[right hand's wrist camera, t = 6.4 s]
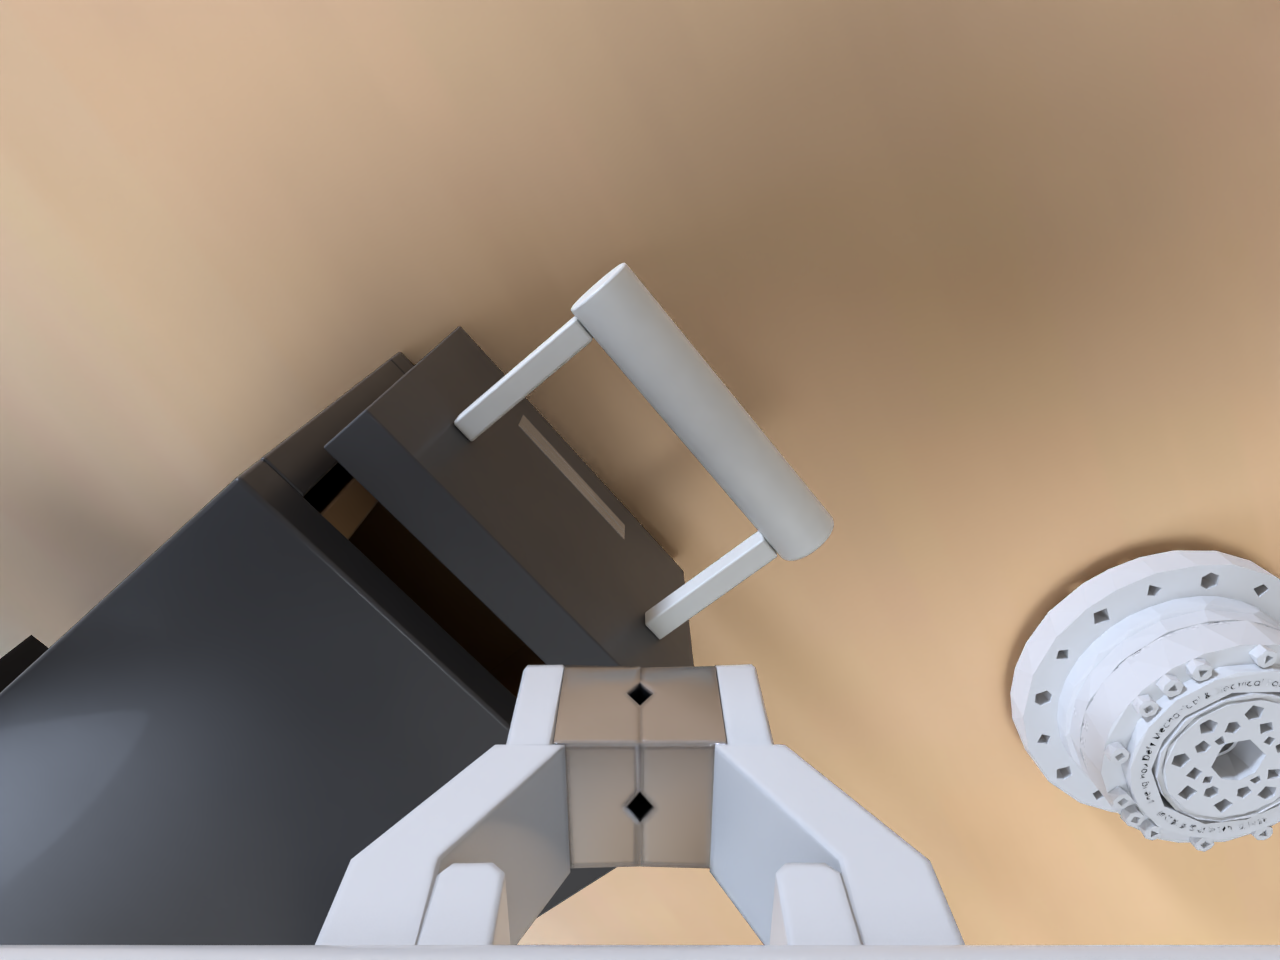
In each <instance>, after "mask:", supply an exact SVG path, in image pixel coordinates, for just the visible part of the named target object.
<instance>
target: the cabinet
mask: <svg viewBox="0 0 1280 960" xmlns="http://www.w3.org/2000/svg"><path fill="white" fill-rule="evenodd" d="M412 367H414V365H413V364H412V363H411V362H410V361H409V360H408V359H407V358H406V357H405V356H404V355H403V354H402V353H401V352H398V353H397V354H396V355H394V356H393V357H392V358H390V359H389V360H388V361H387V362H385V363H384V364H383V365H381V366H380V367H379V368H378V369H376V370H375V371H374V372H372V373H371V374H370V375H368V376H367V377H366V378H365V379H363V380H362V381H361V382H359V383H358V384H357V385H355V386H354V387H353V388H352V389H350V390H349V391H348V392H346V393H345V394H344V395H343V396H341V397H340V398H339V399H337V400H336V401H335V402H333V403H332V404H331V405H330V406H328V407H327V408H326V409H324V410H323V411H322V412H320V413H319V414H318V415H317V416H315V417H314V418H313V419H311V420H310V421H309V422H307V423H306V424H305V425H304V426H302V427H301V428H300V429H298V430H297V431H296V432H294V433H293V434H292V435H291V436H289V437H288V438H287V439H285V440H284V441H283V442H282V443H280V444H279V445H278V446H276V447H275V448H274V449H272V450H271V451H270V452H269V453H267V454H266V455H265V456H263V457H262V458H261V459H260V460H259V461H257V462H256V463H254V464H253V465H252V466H251V467H249V468H248V469H247V470H245V471H244V472H243V473H241V474H240V475H239V476H238V477H236V478H235V479H234V480H233V481H232V482H231V483H230V484H229V485H227V486H226V487H225V488H224V489H223V490H222V491H221V492H220V493H219V494H218V495H217V496H215V497H214V498H213V499H212V500H211V501H210V502H209V503H208V504H207V505H206V506H204V507H203V508H202V509H201V510H200V511H199V512H198V513H197V514H196V515H195V516H194V517H192V518H191V519H190V520H189V521H188V522H187V523H186V524H185V525H184V526H183V527H181V528H180V529H179V530H178V531H177V532H176V533H175V534H174V535H173V536H172V537H170V538H169V539H168V540H167V541H166V542H165V543H164V544H163V545H162V546H161V547H160V548H158V549H157V550H156V551H155V552H154V553H153V554H152V555H151V556H150V557H149V558H147V559H146V560H145V561H144V562H143V563H142V564H141V565H140V566H139V567H138V568H137V569H135V570H134V571H133V572H132V573H131V574H130V575H129V576H128V577H127V578H126V579H124V580H123V581H122V582H121V583H120V584H119V585H118V586H117V587H116V588H115V589H113V590H112V591H111V592H110V593H109V594H108V595H107V596H106V597H105V598H104V599H103V600H101V601H100V602H99V603H98V604H97V605H96V606H95V607H94V608H93V609H92V610H90V611H89V612H88V613H87V614H86V615H85V616H84V617H83V618H82V619H81V620H80V621H78V622H77V623H76V624H75V625H74V626H73V627H72V628H71V629H70V630H69V631H67V632H66V633H65V634H64V635H63V636H62V637H61V638H60V639H59V640H58V641H56V642H55V643H54V644H53V645H52V646H51V647H50V648H49V649H48V650H47V651H46V652H44V653H43V654H42V655H41V656H40V657H39V658H38V659H37V660H36V661H35V662H33V663H32V664H31V665H30V666H29V667H28V668H27V669H26V670H25V671H24V672H23V673H21V674H20V675H19V676H18V677H17V678H16V679H15V680H14V681H13V682H12V683H10V684H9V685H8V686H7V687H6V688H5V689H4V690H3V691H2V692H1V693H0V945H315V943H316V941H317V938H318V936H319V934H320V931H321V929H322V927H323V924H324V922H325V920H326V917H327V915H328V913H329V910H330V908H331V905H332V903H333V901H334V898H335V896H336V894H337V891H338V889H339V887H340V884H341V882H342V879H343V877H344V875H345V872H346V870H347V868H348V865H349V863H350V861H351V859H352V858H353V857H355V856H356V855H357V854H358V853H360V852H361V851H362V850H364V849H365V848H366V847H367V846H369V845H370V844H371V843H372V842H374V841H375V840H376V839H377V838H379V837H380V836H381V835H382V834H384V833H385V832H386V831H387V830H389V829H390V828H391V827H392V826H394V825H395V824H396V823H397V822H399V821H400V820H401V819H402V818H404V817H405V816H406V815H407V814H409V813H410V812H411V811H412V810H414V809H415V808H416V807H417V806H419V805H420V804H421V803H422V802H424V801H425V800H426V799H428V798H429V797H430V796H431V795H433V794H434V793H435V792H436V791H438V790H439V789H440V788H441V787H443V786H444V785H445V784H446V783H448V782H449V781H450V780H451V779H453V778H454V777H455V776H456V775H458V774H459V773H460V772H461V771H463V770H464V769H465V768H466V767H468V766H469V765H470V764H471V763H473V762H474V761H475V760H476V759H478V758H479V757H480V756H481V755H483V754H484V753H485V752H486V751H488V750H489V749H490V748H491V747H493V746H494V745H506V743H507V739H508V734H509V730H510V726H511V722H512V717H513V713H514V709H515V705H516V700H517V698H516V697H515V696H514V695H513V694H512V693H511V692H510V691H509V690H508V689H507V688H505V687H504V686H503V685H502V684H501V683H500V682H499V681H498V680H497V679H496V678H495V677H494V676H493V675H492V674H491V673H490V672H488V671H487V670H486V669H485V668H484V667H483V666H482V665H481V664H480V663H479V662H478V661H477V660H476V659H475V658H474V657H472V656H471V655H470V654H469V653H468V652H467V651H466V650H465V649H464V648H463V647H462V646H461V645H460V644H459V643H458V642H457V641H455V640H454V639H453V638H452V637H451V636H450V635H449V634H448V633H447V632H446V631H445V630H444V629H443V628H442V627H441V626H439V625H438V624H437V623H436V622H435V621H434V620H433V619H432V618H431V617H430V616H429V615H428V614H427V613H426V612H425V611H424V610H422V609H421V608H420V607H419V606H418V605H417V604H416V603H415V602H414V601H413V600H412V599H411V598H410V597H409V596H408V595H406V594H405V593H404V592H403V591H402V590H401V589H400V588H399V587H398V586H397V585H396V584H395V583H394V582H393V581H392V580H390V579H389V578H388V577H387V576H386V575H385V574H384V573H383V572H382V571H381V570H380V569H379V568H378V567H377V566H376V565H375V564H373V563H372V562H371V561H370V560H369V559H368V558H367V557H366V556H365V555H364V554H363V553H362V552H361V551H360V550H359V549H357V548H356V547H355V546H354V545H353V544H352V543H351V542H350V541H349V540H348V539H347V538H346V537H345V536H344V535H343V534H342V533H340V532H339V531H338V530H337V529H336V528H335V527H334V526H333V525H332V524H331V523H330V522H329V521H328V520H327V519H326V518H324V517H323V516H322V515H321V514H320V513H319V512H318V511H317V510H316V509H315V508H314V507H313V506H312V505H311V504H310V503H311V502H312V501H313V500H314V499H315V498H316V497H317V496H319V495H320V494H321V493H322V492H323V491H324V490H325V489H327V488H328V487H329V486H330V485H331V484H332V483H334V482H335V481H336V480H337V479H338V478H339V477H340V476H342V475H343V474H344V473H345V472H346V471H347V470H346V469H345V468H344V467H343V466H341V465H340V464H339V463H338V462H337V461H336V460H335V459H334V458H333V457H332V456H331V455H330V454H329V453H328V452H327V451H326V450H325V449H324V446H325V445H326V444H327V443H328V442H329V441H330V440H331V439H332V438H334V437H335V436H336V435H337V434H338V433H339V432H340V431H341V430H343V429H344V428H345V427H346V426H347V425H348V424H349V423H350V422H352V421H353V420H354V419H355V418H356V417H357V416H358V415H359V414H361V413H362V412H363V411H364V410H365V409H366V408H367V407H368V406H370V405H371V404H372V403H373V402H374V401H375V400H376V399H377V398H379V397H380V396H381V395H382V394H383V393H384V392H385V391H386V390H388V389H389V388H390V387H391V386H392V385H393V384H394V383H396V382H397V381H398V380H399V379H400V378H401V377H402V376H403V375H405V374H406V373H407V372H408V371H409V370H410V369H411V368H412ZM615 868H616V867H598V868H570V874H569V875H568V876H567V878H566V879H565V880H564V882H563V883H562V884H561V886H560V887H559V888H558V890H557V891H556V892H555V894H554V895H553V896H552V898H551V899H550V900H549V902H548V903H547V904H546V906H545V907H544V908H543V910H542V911H541V912H540V914H539V915H538V917H539V916H541V915H542V914H544V913H545V912H547V911H548V910H550V909H552V908H553V907H555V906H556V905H558V904H560V903H561V902H563V901H564V900H566V899H567V898H569V897H571V896H572V895H574V894H575V893H577V892H578V891H580V890H582V889H583V888H585V887H586V886H588V885H589V884H591V883H593V882H594V881H596V880H597V879H599V878H601V877H602V876H604V875H605V874H607V873H608V872H610V871H612V870H613V869H615Z"/></svg>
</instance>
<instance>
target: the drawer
mask: <svg viewBox="0 0 1280 960" xmlns="http://www.w3.org/2000/svg"><path fill="white" fill-rule="evenodd" d="M571 312H572V313H573V314H574V315H575V316H574V317H573V318H572V319H570V320H569V321H568V322H567V323H566V324H565V325H563V326H562V327H561V328H560V329H559V330H558V331H556V332H555V333H554V334H553V335H552V336H551V337H549V338H548V339H547V340H546V341H545V342H544V343H542V344H541V345H540V346H539V347H538V348H537V349H535V350H534V351H533V352H532V353H531V354H530V355H528V356H527V357H526V358H525V359H524V360H523V361H521V362H520V363H519V364H518V365H517V366H516V367H514V368H513V369H512V370H511V371H510V372H509V373H507V374H506V375H504V374H503V373H502V372H501V370H500V369H499V368H498V367H497V366H496V365H495V364H494V363H493V362H492V361H491V359H490V358H489V357H488V356H487V355H486V354H485V353H484V352H483V351H482V350H481V348H480V347H479V346H478V345H477V344H476V343H475V342H474V341H473V340H472V339H471V337H470V336H469V335H468V334H467V333H466V332H465V331H464V330H463V329H462V328H461V327H460V326H459V327H458V328H457V329H455V330H454V331H453V332H452V333H451V334H450V335H449V336H447V337H446V338H445V339H444V340H443V341H442V342H441V343H440V344H438V345H437V346H436V347H435V348H434V349H433V350H432V351H431V352H429V353H428V354H427V355H426V356H425V357H424V358H423V359H421V360H420V361H419V362H418V363H417V364H416V365H415V366H414V367H412V368H411V369H410V370H409V371H408V372H407V373H406V374H405V375H403V376H402V377H401V378H400V379H399V380H398V381H397V382H396V383H394V384H393V385H392V386H391V387H390V388H389V389H388V390H386V391H385V392H384V393H383V394H382V395H381V396H380V397H379V398H377V399H376V400H375V401H374V402H373V403H372V404H371V405H370V406H368V407H367V408H366V409H365V410H364V411H363V412H362V413H361V414H359V415H358V416H357V417H356V418H355V419H354V420H353V421H352V422H350V423H349V424H348V425H347V426H346V427H345V428H344V429H343V430H341V431H340V432H339V433H338V434H337V435H336V436H335V437H334V438H332V439H331V440H330V441H329V442H328V443H327V444H326V445H325V446H324V449H325V450H326V451H327V452H328V453H329V454H330V455H331V456H332V457H333V458H334V459H335V460H336V461H337V462H338V463H339V464H340V465H341V466H343V467H344V468H345V469H346V470H347V471H346V472H345V473H344V474H343V475H342V476H340V477H339V478H338V479H337V480H336V481H335V482H334V483H332V484H331V485H330V486H329V487H328V488H327V489H325V490H324V491H323V492H322V493H321V494H320V495H319V496H317V497H316V498H315V499H314V500H313V501H312V502H311V503H310V504H311V505H312V506H313V507H314V508H315V509H316V510H317V511H318V512H319V513H320V514H321V515H322V516H323V517H324V518H326V519H327V520H328V521H329V522H330V523H331V524H332V525H333V526H334V527H335V528H336V529H337V530H338V531H339V532H340V533H342V534H343V535H344V536H345V537H346V538H347V539H348V540H349V541H350V542H351V543H352V544H353V545H354V546H355V547H356V548H357V549H359V550H360V551H361V552H362V553H363V554H364V555H365V556H366V557H367V558H368V559H369V560H370V561H371V562H372V563H373V564H375V565H376V566H377V567H378V568H379V569H380V570H381V571H382V572H383V573H384V574H385V575H386V576H387V577H388V578H389V579H390V580H392V581H393V582H394V583H395V584H396V585H397V586H398V587H399V588H400V589H401V590H402V591H403V592H404V593H405V594H406V595H408V596H409V597H410V598H411V599H412V600H413V601H414V602H415V603H416V604H417V605H418V606H419V607H420V608H421V609H422V610H424V611H425V612H426V613H427V614H428V615H429V616H430V617H431V618H432V619H433V620H434V621H435V622H436V623H437V624H438V625H439V626H441V627H442V628H443V629H444V630H445V631H446V632H447V633H448V634H449V635H450V636H451V637H452V638H453V639H454V640H455V641H457V642H458V643H459V644H460V645H461V646H462V647H463V648H464V649H465V650H466V651H467V652H468V653H469V654H470V655H471V656H472V657H474V658H475V659H476V660H477V661H478V662H479V663H480V664H481V665H482V666H483V667H484V668H485V669H486V670H487V671H488V672H490V673H491V674H492V675H493V676H494V677H495V678H496V679H497V680H498V681H499V682H500V683H501V684H502V685H503V686H504V687H505V688H507V689H508V690H509V691H510V692H511V693H512V694H513V695H514V696H515V697H516V698H517V696H518V692H519V687H520V683H521V679H522V675H523V671H524V669H525V668H526V667H527V665H564V666H566V665H590V666H638V667H640V668H645V667H694V664H693V655H692V646H691V637H690V628H689V619H690V618H691V617H693V616H694V615H696V614H697V613H698V612H700V611H701V610H703V609H704V608H705V607H707V606H708V605H710V604H711V603H713V602H714V601H715V600H717V599H718V598H720V597H721V596H722V595H724V594H725V593H727V592H728V591H729V590H731V589H732V588H734V587H735V586H737V585H738V584H739V583H741V582H742V581H744V580H745V579H746V578H748V577H749V576H751V575H752V574H754V573H755V572H756V571H758V570H759V569H761V568H762V567H763V566H765V565H766V564H768V563H769V562H770V561H772V560H773V559H775V558H776V557H777V553H778V554H779V555H780V557H781V558H783V559H785V560H787V561H794V560H798V559H801V558H804V557H806V556H808V555H809V554H811V553H813V552H814V551H815V550H817V549H818V548H819V547H820V546H821V545H822V544H823V543H824V542H825V541H826V540H827V539H828V537H829V536H830V534H831V532H832V530H833V527H834V521H833V518H832V516H831V515H830V514H829V513H828V511H827V510H826V509H825V508H824V506H823V505H822V504H821V503H820V502H819V500H818V499H817V498H816V497H815V495H814V494H813V493H812V492H811V490H810V489H809V488H808V487H807V485H806V484H805V483H804V482H803V481H802V479H801V478H800V477H799V476H798V474H797V473H796V472H795V471H794V469H793V468H792V467H791V466H790V465H789V463H788V462H787V461H786V460H785V458H784V457H783V456H782V455H781V453H780V452H779V451H778V450H777V449H776V447H775V446H774V445H773V444H772V442H771V441H770V440H769V439H768V437H767V436H766V435H765V434H764V433H763V431H762V430H761V429H760V428H759V426H758V425H757V424H756V423H755V421H754V420H753V419H752V418H751V417H750V415H749V414H748V413H747V412H746V410H745V409H744V408H743V407H742V405H741V404H740V403H739V402H738V400H737V399H736V398H735V397H734V396H733V394H732V393H731V392H730V391H729V389H728V388H727V387H726V386H725V384H724V383H723V382H722V381H721V380H720V378H719V377H718V376H717V375H716V373H715V372H714V371H713V370H712V368H711V367H710V366H709V365H708V364H707V362H706V361H705V360H704V359H703V357H702V356H701V355H700V354H699V352H698V351H697V350H696V349H695V348H694V346H693V345H692V344H691V343H690V341H689V340H688V339H687V338H686V336H685V335H684V334H683V333H682V332H681V330H680V329H679V328H678V327H677V325H676V324H675V323H674V322H673V320H672V319H671V318H670V317H669V315H668V314H667V313H666V312H665V311H664V309H663V308H662V307H661V306H660V304H659V303H658V302H657V301H656V299H655V298H654V297H653V296H652V295H651V293H650V292H649V291H648V290H647V288H646V287H645V286H644V285H643V283H642V282H641V281H640V280H639V279H638V277H637V276H636V275H635V274H634V272H633V271H632V270H631V269H630V267H629V266H628V265H627V264H626V263H622V264H620V265H618V266H617V267H615V268H614V269H613V270H611V271H610V272H609V273H607V274H606V275H605V276H604V277H603V278H601V279H600V280H599V281H598V282H597V283H596V284H595V285H593V286H592V287H591V288H590V289H589V290H588V291H587V292H586V293H585V294H584V295H582V296H581V297H580V298H579V299H578V300H577V301H576V303H575V304H574V305H573V306H572V308H571ZM592 338H594V339H595V340H596V341H597V342H598V344H599V345H600V346H601V347H602V348H603V349H604V351H605V352H606V353H607V354H608V355H609V356H610V358H611V359H612V360H613V361H614V362H615V363H616V365H617V366H618V367H619V368H620V369H621V370H622V372H623V373H624V374H625V375H626V376H627V377H628V379H629V380H630V381H631V382H632V383H633V384H634V386H635V387H636V388H637V389H638V390H639V392H640V393H641V394H642V395H643V396H644V397H645V399H646V400H647V401H648V402H649V403H650V404H651V406H652V407H653V408H654V409H655V410H656V411H657V413H658V414H659V415H660V416H661V417H662V418H663V420H664V421H665V422H666V423H667V424H668V425H669V427H670V428H671V429H672V430H673V431H674V432H675V434H676V435H677V436H678V437H679V438H680V440H681V441H682V442H683V443H684V444H685V445H686V447H687V448H688V449H689V450H690V451H691V452H692V454H693V455H694V456H695V457H696V458H697V459H698V461H699V462H700V463H701V464H702V465H703V466H704V468H705V469H706V470H707V471H708V472H709V473H710V475H711V476H712V477H713V478H714V479H715V480H716V482H717V483H718V484H719V485H720V486H721V488H722V489H723V490H724V491H725V492H726V493H727V495H728V496H729V497H730V498H731V499H732V500H733V502H734V503H735V504H736V505H737V506H738V507H739V509H740V510H741V511H742V512H743V513H744V514H745V516H746V517H747V518H748V519H749V520H750V521H751V523H752V524H753V525H754V526H755V527H756V528H757V530H758V531H757V532H756V533H755V534H753V535H752V536H750V537H749V538H748V539H746V540H745V541H743V542H742V543H741V544H739V545H738V546H737V547H735V548H734V549H732V550H731V551H730V552H728V553H727V554H725V555H724V556H723V557H721V558H720V559H719V560H717V561H716V562H714V563H713V564H712V565H710V566H709V567H707V568H706V569H705V570H703V571H702V572H701V573H699V574H698V575H696V576H695V577H694V578H692V579H691V580H689V581H688V582H687V583H685V582H684V573H683V570H682V569H681V568H680V567H679V566H678V565H677V564H676V563H675V562H674V560H673V559H672V558H671V557H670V556H669V555H668V554H667V553H666V552H665V551H664V549H663V548H662V547H661V546H660V545H659V544H658V543H657V542H656V541H655V540H654V538H653V537H652V536H651V535H650V534H649V533H648V532H647V531H646V530H645V529H644V528H643V526H642V525H641V524H640V523H639V522H638V521H637V520H636V519H635V518H634V517H633V515H632V514H631V513H630V512H629V511H628V510H627V509H626V508H625V507H624V506H623V504H622V503H621V502H620V501H619V500H618V499H617V498H616V497H615V496H614V495H613V493H612V492H611V491H610V490H609V489H608V488H607V487H606V486H605V485H604V484H603V482H602V481H601V480H600V479H599V478H598V477H597V476H596V475H595V474H594V473H593V471H592V470H591V469H590V468H589V467H588V466H587V465H586V464H585V463H584V462H583V461H582V459H581V458H580V457H579V456H578V455H577V454H576V453H575V452H574V451H573V450H572V448H571V447H570V446H569V445H568V444H567V443H566V442H565V441H564V440H563V439H562V437H561V436H560V435H559V434H558V433H557V432H556V431H555V430H554V429H553V428H552V426H551V425H550V424H549V423H548V422H547V421H546V420H545V419H544V418H543V417H542V415H541V414H540V413H539V412H538V411H537V410H536V409H535V408H534V407H533V406H532V404H531V403H530V402H529V401H528V400H527V399H526V398H525V397H526V396H527V395H528V394H529V393H531V392H532V391H533V390H534V389H535V388H537V387H538V386H539V385H540V384H541V383H543V382H544V381H545V380H546V379H547V378H549V377H550V376H551V375H552V374H553V373H554V372H556V371H557V370H558V369H559V368H560V367H562V366H563V365H564V364H565V363H566V362H568V361H569V360H570V359H571V358H572V357H573V356H575V355H576V354H577V353H578V352H579V351H581V350H582V349H583V348H584V347H585V346H587V345H588V344H589V343H590V342H591V341H592ZM776 552H777V553H776Z"/></svg>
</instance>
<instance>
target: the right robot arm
mask: <svg viewBox="0 0 1280 960" xmlns="http://www.w3.org/2000/svg"><path fill="white" fill-rule="evenodd" d="M632 866H646V867H681V868H710V873H711V874H712V875H713V877H714V878H715V879H716V881H717V882H718V883H719V885H720V886H721V887H722V889H723V890H724V892H725V893H726V894H727V896H728V897H729V898H730V900H731V901H732V902H733V904H734V905H735V906H736V908H737V909H738V910H739V912H740V913H741V915H742V916H743V917H744V919H745V920H746V921H747V923H748V924H749V925H750V927H751V928H752V929H753V931H754V932H755V933H756V935H757V936H758V937H759V939H760V940H761V942H762V943H763V944H764V945H517V943H518V942H519V941H520V939H521V938H522V937H523V935H524V934H525V933H526V931H527V930H528V929H529V927H530V926H531V925H532V923H533V922H534V921H535V919H536V918H537V917H538V915H539V914H540V912H541V911H542V910H543V908H544V907H545V906H546V904H547V903H548V902H549V900H550V899H551V898H552V896H553V895H554V894H555V892H556V891H557V890H558V888H559V887H560V886H561V884H562V883H563V882H564V880H565V879H566V878H567V876H568V875H569V874H570V868H598V867H632ZM0 960H1280V945H965V943H964V941H963V939H962V936H961V934H960V931H959V929H958V927H957V924H956V922H955V919H954V917H953V915H952V912H951V910H950V907H949V905H948V903H947V900H946V898H945V895H944V893H943V891H942V888H941V886H940V884H939V881H938V879H937V876H936V874H935V872H934V869H933V867H932V864H931V862H930V860H928V859H927V858H926V857H925V856H923V855H922V854H921V853H920V852H918V851H917V850H916V849H915V848H913V847H912V846H911V845H910V844H908V843H907V842H906V841H905V840H903V839H902V838H901V837H900V836H898V835H897V834H896V833H895V832H893V831H892V830H891V829H890V828H888V827H887V826H886V825H885V824H883V823H882V822H881V821H880V820H878V819H877V818H876V817H875V816H873V815H872V814H871V813H870V812H868V811H867V810H866V809H865V808H863V807H862V806H861V805H860V804H858V803H857V802H856V801H855V800H853V799H852V798H851V797H850V796H848V795H847V794H846V793H845V792H843V791H842V790H841V789H840V788H838V787H837V786H836V785H835V784H834V783H832V782H831V781H830V780H829V779H827V778H826V777H825V776H824V775H822V774H821V773H820V772H819V771H817V770H816V769H815V768H814V767H812V766H811V765H810V764H809V763H807V762H806V761H805V760H804V759H802V758H801V757H800V756H799V755H797V754H796V753H795V752H794V751H792V750H791V749H790V748H789V747H787V746H786V745H774V743H773V739H772V735H771V730H770V726H769V722H768V718H767V714H766V709H765V705H764V701H763V697H762V692H761V688H760V684H759V680H758V675H757V671H756V668H755V667H754V666H753V665H752V664H746V665H718V666H701V667H645V668H640V667H638V666H590V665H566V666H564V665H527V667H526V668H525V669H524V671H523V675H522V679H521V683H520V687H519V692H518V696H517V700H516V705H515V709H514V713H513V717H512V722H511V726H510V730H509V734H508V739H507V743H506V745H494V746H493V747H491V748H490V749H489V750H488V751H486V752H485V753H484V754H483V755H481V756H480V757H479V758H478V759H476V760H475V761H474V762H473V763H471V764H470V765H469V766H468V767H466V768H465V769H464V770H463V771H461V772H460V773H459V774H458V775H456V776H455V777H454V778H453V779H451V780H450V781H449V782H448V783H446V784H445V785H444V786H443V787H441V788H440V789H439V790H438V791H436V792H435V793H434V794H433V795H431V796H430V797H429V798H428V799H426V800H425V801H424V802H422V803H421V804H420V805H419V806H417V807H416V808H415V809H414V810H412V811H411V812H410V813H409V814H407V815H406V816H405V817H404V818H402V819H401V820H400V821H399V822H397V823H396V824H395V825H394V826H392V827H391V828H390V829H389V830H387V831H386V832H385V833H384V834H382V835H381V836H380V837H379V838H377V839H376V840H375V841H374V842H372V843H371V844H370V845H369V846H367V847H366V848H365V849H364V850H362V851H361V852H360V853H358V854H357V855H356V856H355V857H353V858H352V859H351V861H350V863H349V865H348V868H347V870H346V872H345V875H344V877H343V879H342V882H341V884H340V887H339V889H338V891H337V894H336V896H335V898H334V901H333V903H332V905H331V908H330V910H329V913H328V915H327V917H326V920H325V922H324V924H323V927H322V929H321V931H320V934H319V936H318V938H317V941H316V943H315V945H0Z"/></svg>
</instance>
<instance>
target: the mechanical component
mask: <svg viewBox="0 0 1280 960" xmlns="http://www.w3.org/2000/svg"><path fill="white" fill-rule="evenodd" d="M1010 695H1011V708H1012V719H1013V721H1014V724H1015V726H1016V729H1017V731H1018V733H1019V736H1020V738H1021V741H1022V743H1023V745H1024V748H1025V750H1026V751H1027V753H1028V754H1029V755H1030V757H1031V758H1032V760H1033V761H1034V762H1035V764H1036V765H1037V766H1038V768H1039V769H1040V770H1041V772H1042V773H1043V774H1044V776H1045V777H1046V778H1047V780H1048V781H1049V782H1050V783H1052V784H1053V785H1055V786H1056V787H1058V788H1059V789H1061V790H1062V791H1064V792H1065V793H1066V794H1068V795H1069V796H1071V797H1072V798H1074V799H1075V800H1077V801H1078V802H1080V803H1083V804H1086V805H1089V806H1093V807H1096V808H1100V809H1103V810H1107V811H1110V812H1117V813H1119V814H1120V815H1121V816H1120V818H1121V819H1122V820H1123V821H1124V822H1125V823H1126V824H1127V825H1128V826H1132V827H1134V828H1136V829H1138V830H1140V831H1141V832H1142V834H1143V835H1144V837H1145V838H1146V839H1150V840H1155V839H1161V840H1167V841H1172V842H1178V843H1179V842H1190V843H1191V844H1192V845H1193V846H1194V847H1195V848H1196V849H1197V850H1200V851H1204V852H1205V851H1207V850H1208V849H1210V848H1211V847H1212V846H1213V845H1214V842H1225V841H1228V840H1232V839H1235V838H1238V837H1242V836H1245V835H1248V834H1252V835H1253V836H1254V837H1255V838H1256V839H1257V840H1265V839H1267V838H1269V837H1270V836H1271V835H1272V833H1273V830H1272V827H1271V826H1273V825H1274V824H1276V823H1278V822H1280V579H1279V578H1277V577H1275V576H1274V575H1272V574H1271V573H1269V572H1268V571H1266V570H1264V569H1263V568H1261V567H1260V566H1258V565H1257V564H1255V563H1253V562H1252V561H1250V560H1246V559H1243V558H1240V557H1236V556H1233V555H1229V554H1226V553H1222V552H1219V551H1189V550H1173V551H1168V552H1163V553H1158V554H1153V555H1148V556H1143V557H1139V558H1136V559H1134V560H1131V561H1128V562H1126V563H1123V564H1121V565H1118V566H1115V567H1113V568H1110V569H1108V570H1106V571H1105V572H1103V573H1101V574H1099V575H1097V576H1095V577H1093V578H1092V579H1090V580H1088V581H1086V582H1084V583H1083V584H1081V585H1080V586H1079V587H1078V588H1077V589H1075V590H1074V591H1073V592H1072V593H1071V594H1069V595H1068V596H1067V597H1066V598H1065V599H1063V600H1062V601H1061V602H1060V603H1059V604H1057V605H1056V606H1055V607H1054V608H1053V609H1051V610H1050V611H1049V612H1048V613H1047V615H1046V616H1045V617H1044V619H1043V620H1042V622H1041V623H1040V624H1039V626H1038V627H1037V628H1036V630H1035V631H1034V633H1033V634H1032V635H1031V637H1030V638H1029V639H1028V641H1027V642H1026V644H1025V646H1024V649H1023V651H1022V653H1021V656H1020V658H1019V660H1018V662H1017V665H1016V667H1015V671H1014V677H1013V682H1012V687H1011V692H1010Z"/></svg>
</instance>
